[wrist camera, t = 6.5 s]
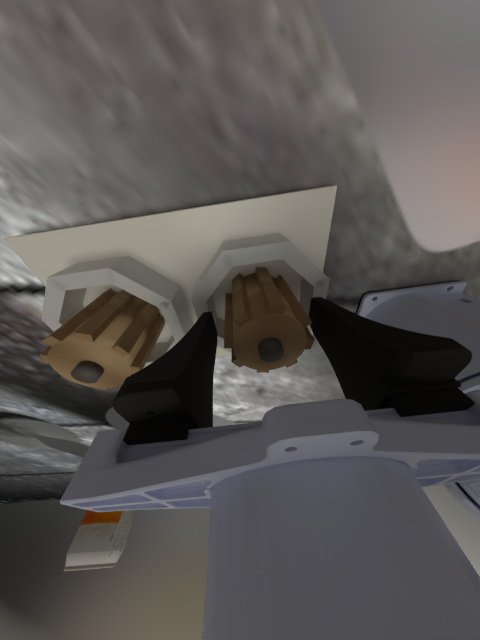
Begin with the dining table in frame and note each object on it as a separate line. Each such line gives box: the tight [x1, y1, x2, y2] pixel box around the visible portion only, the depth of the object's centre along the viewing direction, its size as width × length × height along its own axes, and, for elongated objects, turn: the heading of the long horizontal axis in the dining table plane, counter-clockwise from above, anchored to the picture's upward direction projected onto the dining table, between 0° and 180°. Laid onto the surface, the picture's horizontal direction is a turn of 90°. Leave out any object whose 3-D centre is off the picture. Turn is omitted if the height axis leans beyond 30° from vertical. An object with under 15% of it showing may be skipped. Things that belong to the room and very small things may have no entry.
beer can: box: [64, 426, 135, 571], centre depth 27 cm, size 6×6×15 cm
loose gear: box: [224, 267, 315, 372], centre depth 12 cm, size 5×5×7 cm
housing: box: [4, 186, 337, 368], centre depth 15 cm, size 22×14×4 cm, turn 97°
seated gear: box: [40, 289, 165, 390], centre depth 13 cm, size 5×5×7 cm
